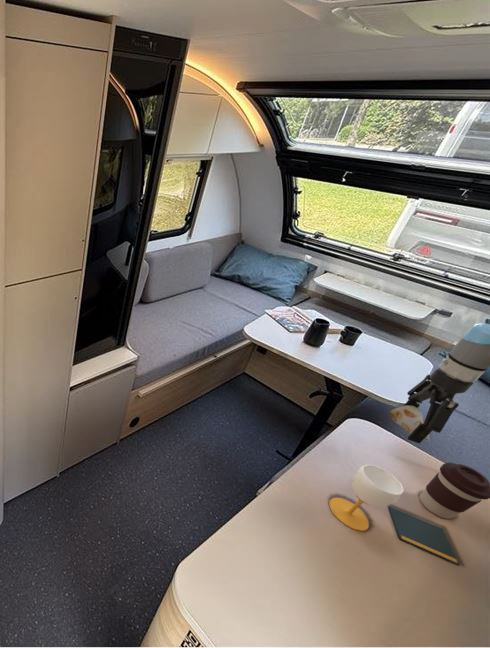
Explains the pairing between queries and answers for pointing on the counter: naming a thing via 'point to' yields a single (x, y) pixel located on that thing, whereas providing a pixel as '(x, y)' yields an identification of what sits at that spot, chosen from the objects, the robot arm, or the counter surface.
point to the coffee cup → (454, 490)
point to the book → (422, 535)
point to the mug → (407, 418)
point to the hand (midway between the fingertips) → (407, 428)
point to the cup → (367, 495)
